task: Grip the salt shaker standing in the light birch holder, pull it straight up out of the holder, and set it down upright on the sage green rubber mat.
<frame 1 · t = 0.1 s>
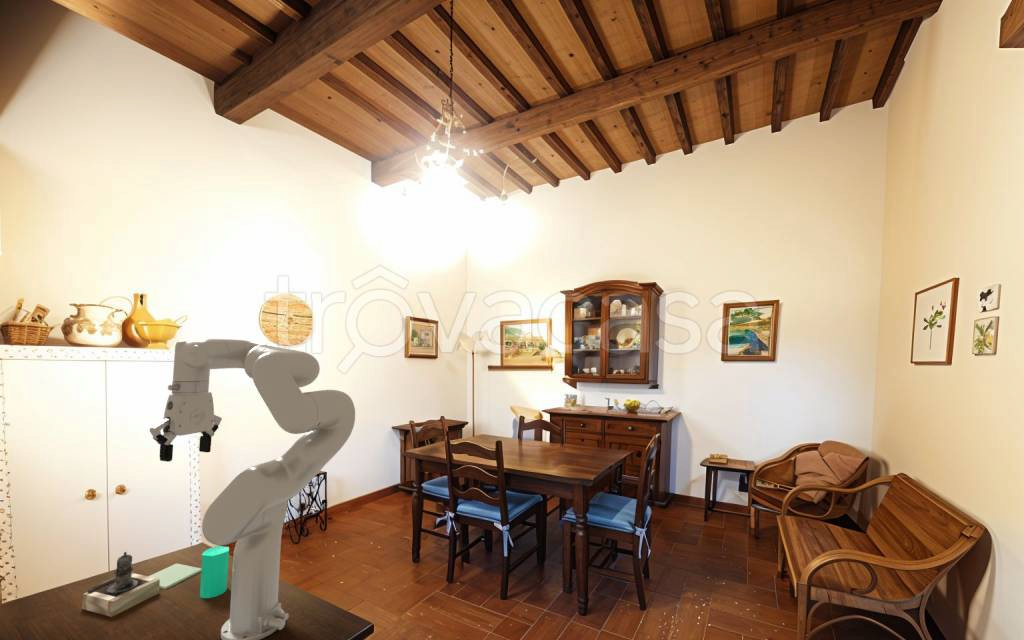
hand: (186, 456, 108), 37 cm above the table, tool pointing down, fingers open, 9 cm apart
mat: (171, 576, 120), on the table
holder: (121, 600, 108), on the table
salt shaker: (121, 601, 108), resting in holder
candle: (213, 592, 113), on the table
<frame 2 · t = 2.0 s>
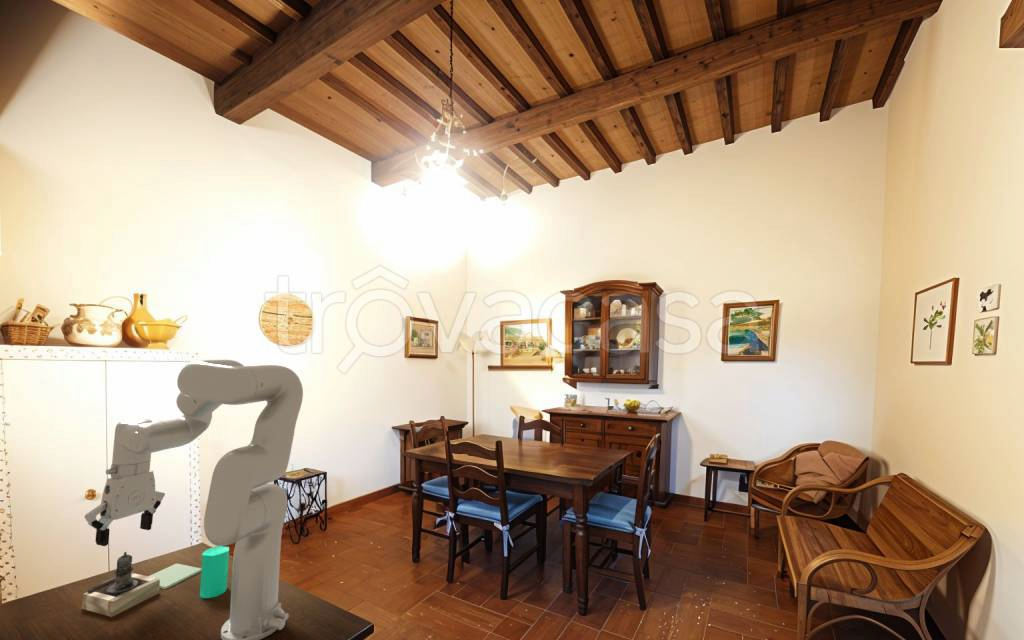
hand: (124, 536, 110), 16 cm above the table, tool pointing down, fingers open, 9 cm apart
nothing on the table moved.
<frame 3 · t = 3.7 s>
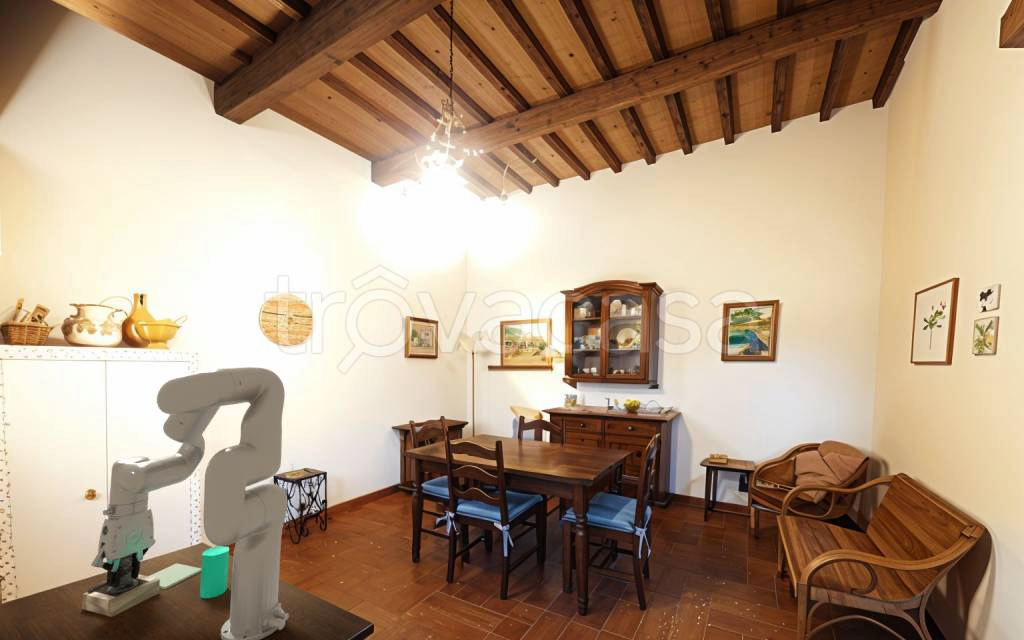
hand: (123, 581, 109), 5 cm above the table, tool pointing down, fingers closed on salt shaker, 3 cm apart
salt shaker: (121, 601, 108), resting in holder, touching gripper
everything else where it was.
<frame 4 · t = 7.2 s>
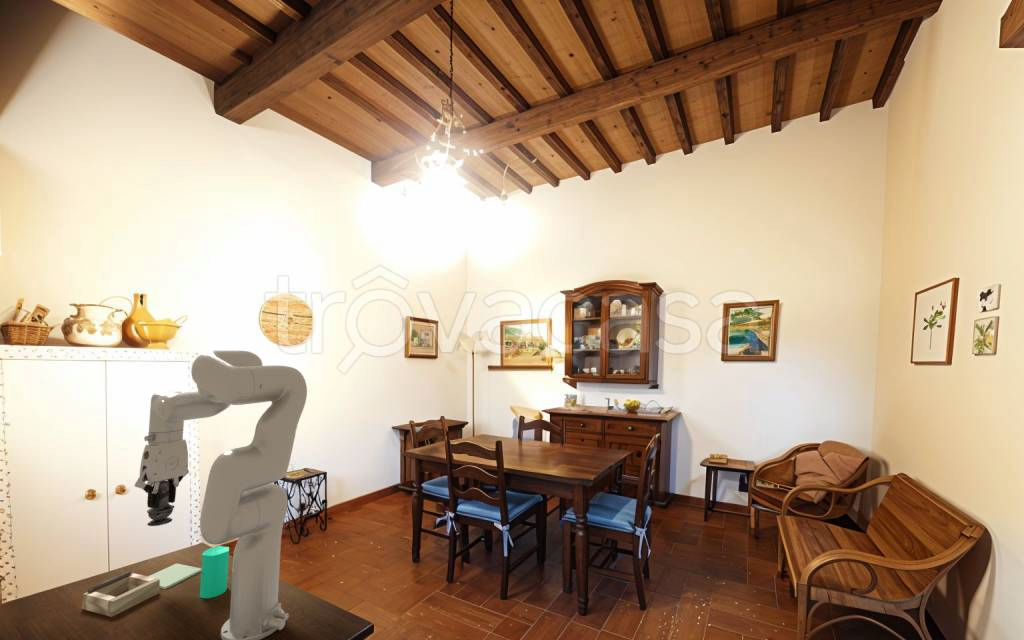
hand: (161, 504, 117), 21 cm above the table, tool pointing down, fingers closed on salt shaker, 3 cm apart
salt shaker: (159, 522, 117), point 16 cm above the table, touching gripper
everything else where it was.
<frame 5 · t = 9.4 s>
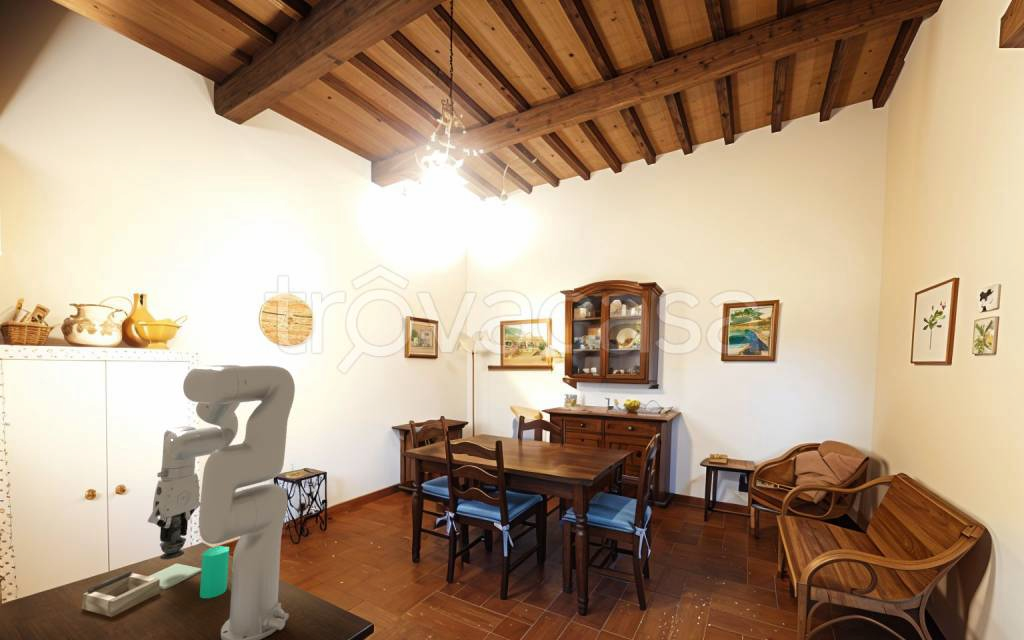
hand: (173, 537, 121), 11 cm above the table, tool pointing down, fingers closed on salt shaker, 3 cm apart
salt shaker: (172, 555, 120), point 6 cm above the table, touching gripper
everything else where it was.
when the fingers open (7 cm above the table, at t = 10.8 s): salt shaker drops 2 cm, resting on mat.
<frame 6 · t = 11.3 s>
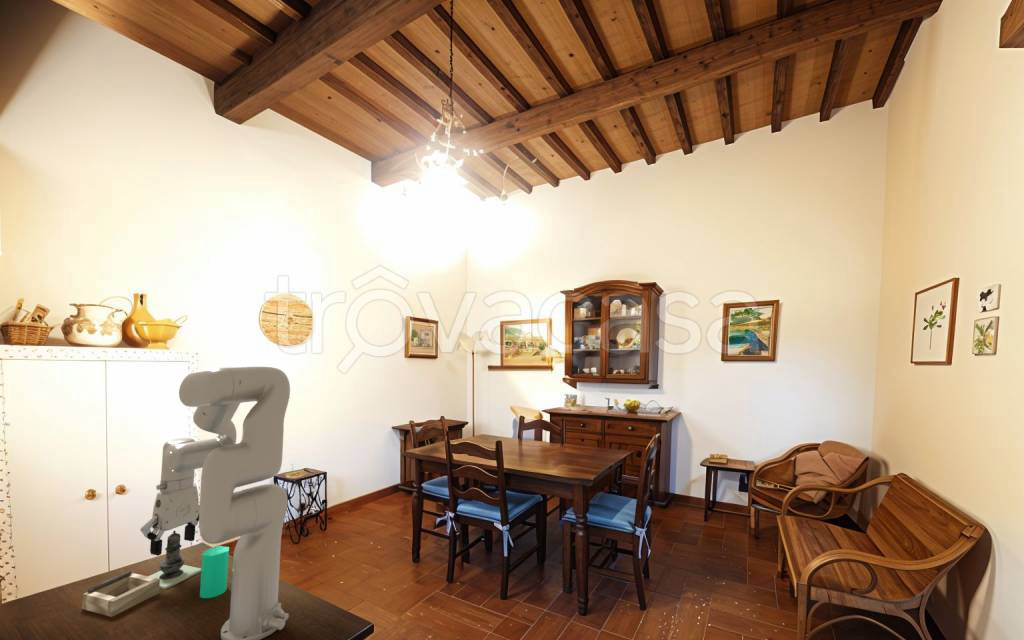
hand: (173, 546, 120), 8 cm above the table, tool pointing down, fingers open, 8 cm apart
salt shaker: (171, 575, 120), resting on mat
everything else where it was.
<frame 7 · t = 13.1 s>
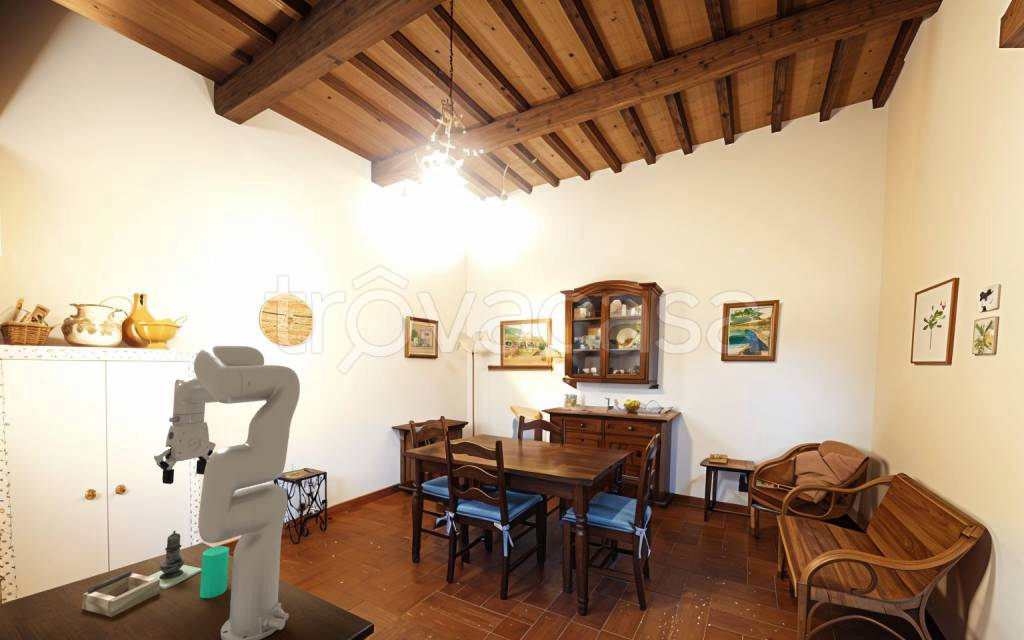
hand: (185, 478, 125), 26 cm above the table, tool pointing down, fingers open, 9 cm apart
nothing on the table moved.
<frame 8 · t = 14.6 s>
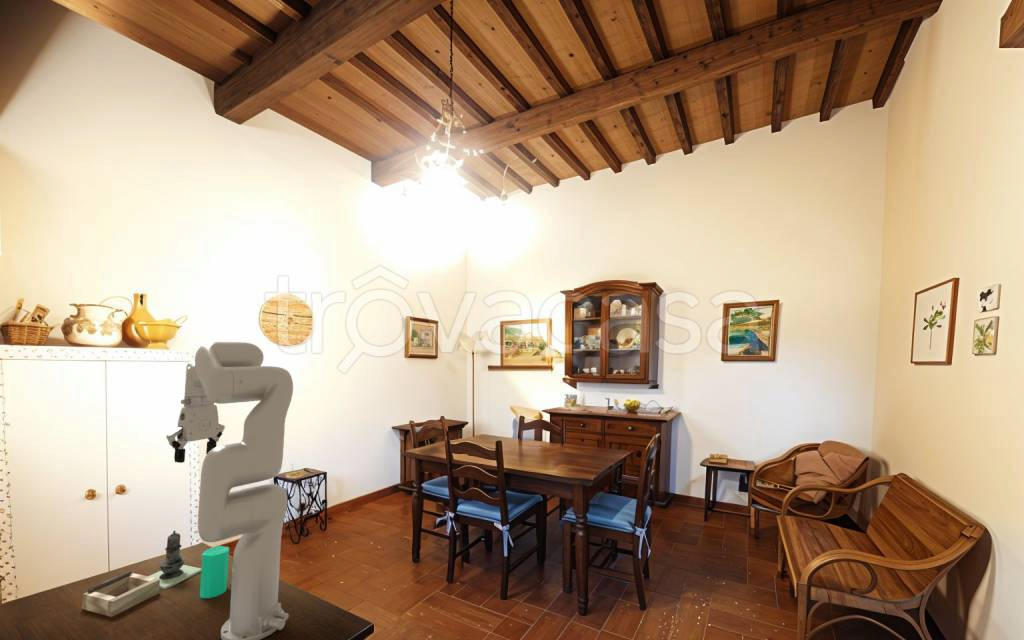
hand: (195, 458, 131), 30 cm above the table, tool pointing down, fingers open, 9 cm apart
nothing on the table moved.
at the end: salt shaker inside the target area on the mat (0.2 cm from its centre), point 0.4 cm above the mat's base; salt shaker tilted 0°; the gripper is holding nothing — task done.
